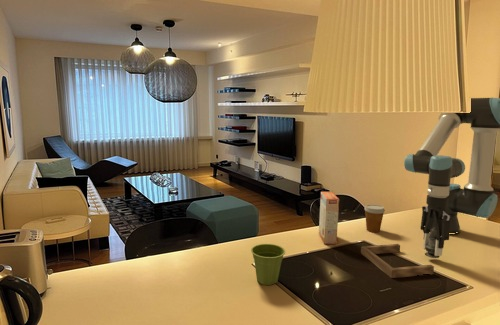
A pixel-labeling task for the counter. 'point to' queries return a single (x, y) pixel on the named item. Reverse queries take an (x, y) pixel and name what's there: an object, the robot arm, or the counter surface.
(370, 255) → the brown u-shaped bracket
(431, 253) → the dark grey candlestick
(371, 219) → the disposable coffee cup
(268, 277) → the plant pot
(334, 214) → the cracker box
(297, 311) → the counter surface
